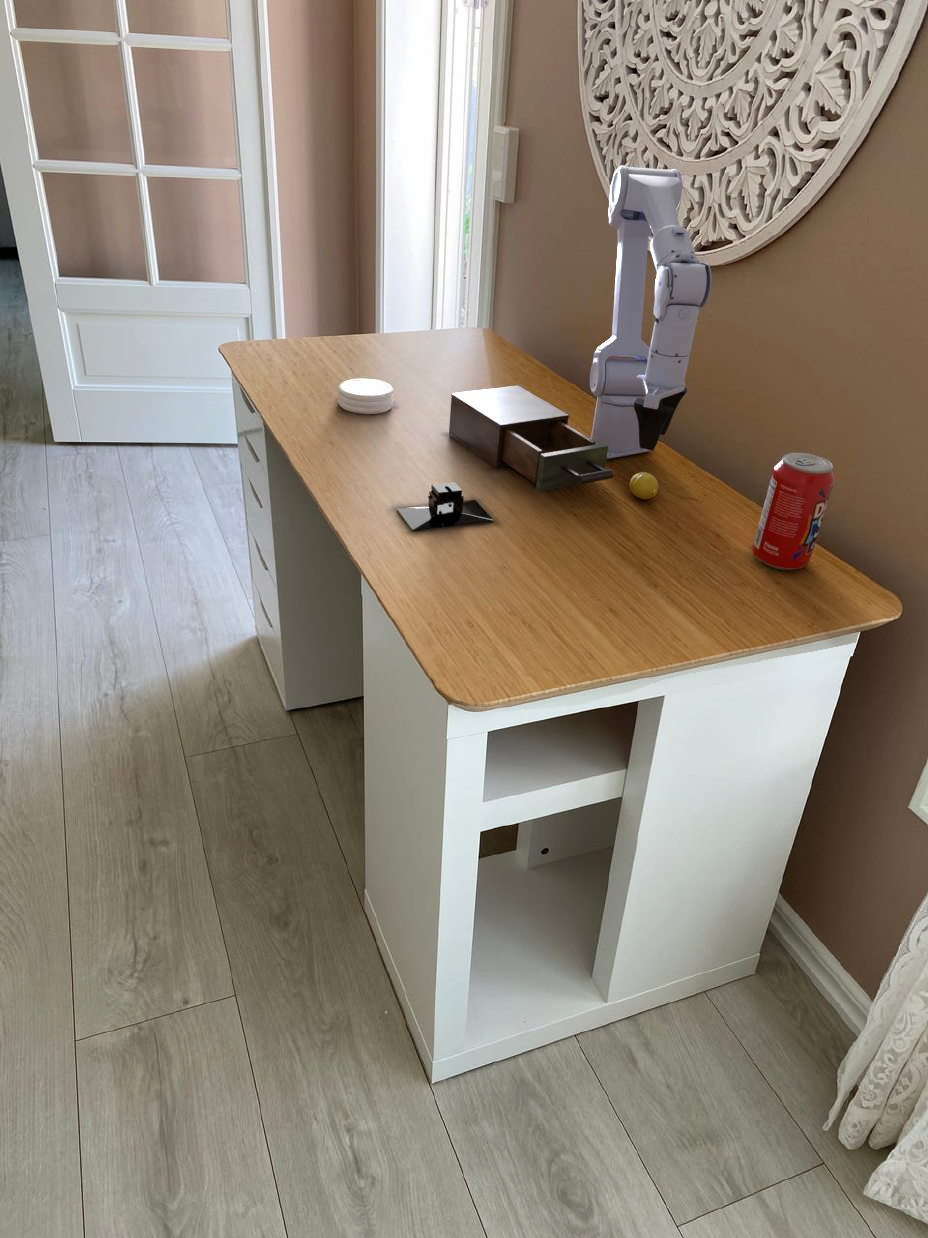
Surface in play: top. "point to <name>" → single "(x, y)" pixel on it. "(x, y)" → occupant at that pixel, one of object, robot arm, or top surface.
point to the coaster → (365, 396)
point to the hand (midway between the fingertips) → (652, 440)
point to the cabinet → (496, 418)
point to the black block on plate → (444, 510)
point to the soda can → (793, 510)
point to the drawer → (554, 455)
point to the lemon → (644, 485)
